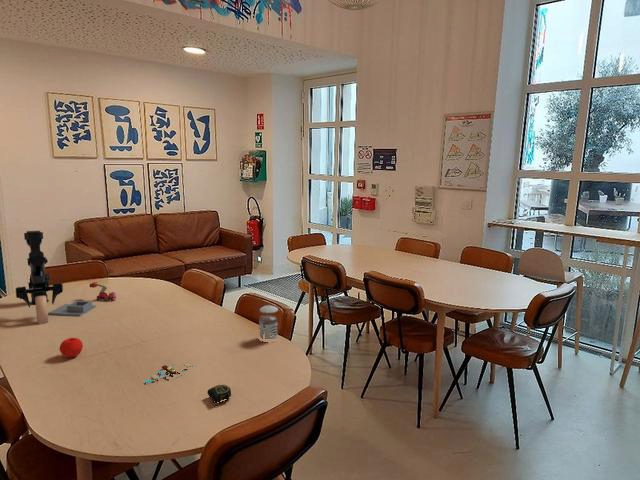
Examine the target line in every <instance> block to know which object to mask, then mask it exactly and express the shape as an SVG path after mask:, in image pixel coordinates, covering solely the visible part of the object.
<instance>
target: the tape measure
mask: <svg viewBox="0 0 640 480" xmlns="http://www.w3.org/2000/svg"><path fill="white" fill-rule="evenodd" d="M207 395H209V396H210V397H211V398H212V399H211V398H210V397H209V396H208V397H209V398H210V399H211V400H212V401H213V403H214V404H215V403H217V402H220V401H221V400H224V399H228V398H229V397H230V398H231V396H232V391H231V387H230V386H228V385H227V384H218V385H216V386H212V387H211V388H209V389H208V390H207ZM230 398H229V399H230ZM229 399H228V400H229ZM214 401H215V402H214ZM220 403H221V402H220Z"/></svg>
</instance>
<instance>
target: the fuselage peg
mask: <svg viewBox="0 0 640 480" xmlns="http://www.w3.org/2000/svg"><path fill="white" fill-rule="evenodd" d="M35 303H36V304H35V310H36V311H35V313H36V323H37V325H46V324H47V323H49V315H48V313H49V312H48V302H47V300H46V296H37V297H35Z"/></svg>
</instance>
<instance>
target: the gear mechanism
mask: <svg viewBox="0 0 640 480" xmlns="http://www.w3.org/2000/svg"><path fill="white" fill-rule="evenodd" d="M182 365H184V366H186V367H187V368H188V367H191V366H190V365H191V364H190V363H184V364H182ZM174 366H175V364H174V362H172V366H170V367H169V366H168V365H162V366H161V369H162V370H159V371H158V372H159V373H160V374H162V375H158V376H157V375H155V374H153V375H151V376H150V379H148V380H145V381H144V384H145V383H148V382H150V381H152V380H155V381H156V380H158V378H160V377H159V376H163V375H164V376H165V377H170V376H167V375H166V374H167V373H165V374H164V373H162V372H161V371H163V370H166V371H167V372H169V373H170V374H172V375H173V374H175V375H177V373H176V371H175V370H174ZM171 367H173V368H171ZM191 368H192V367H191ZM148 384H149V383H148Z"/></svg>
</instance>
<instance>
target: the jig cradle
mask: <svg viewBox="0 0 640 480" xmlns="http://www.w3.org/2000/svg"><path fill="white" fill-rule="evenodd" d="M95 308H96V304H93V301H90V300H89V301H88V300H85V301H84V300H76V301H73V302H72V303H64V304H63V305H60V306H59V307H57V308H55V309H53V310H51V311H50V312H48V316H63V317H64V316H65V317H82V316H83V315H85V314H86V313H88V312H90V311H92V310H93V309H95Z"/></svg>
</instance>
